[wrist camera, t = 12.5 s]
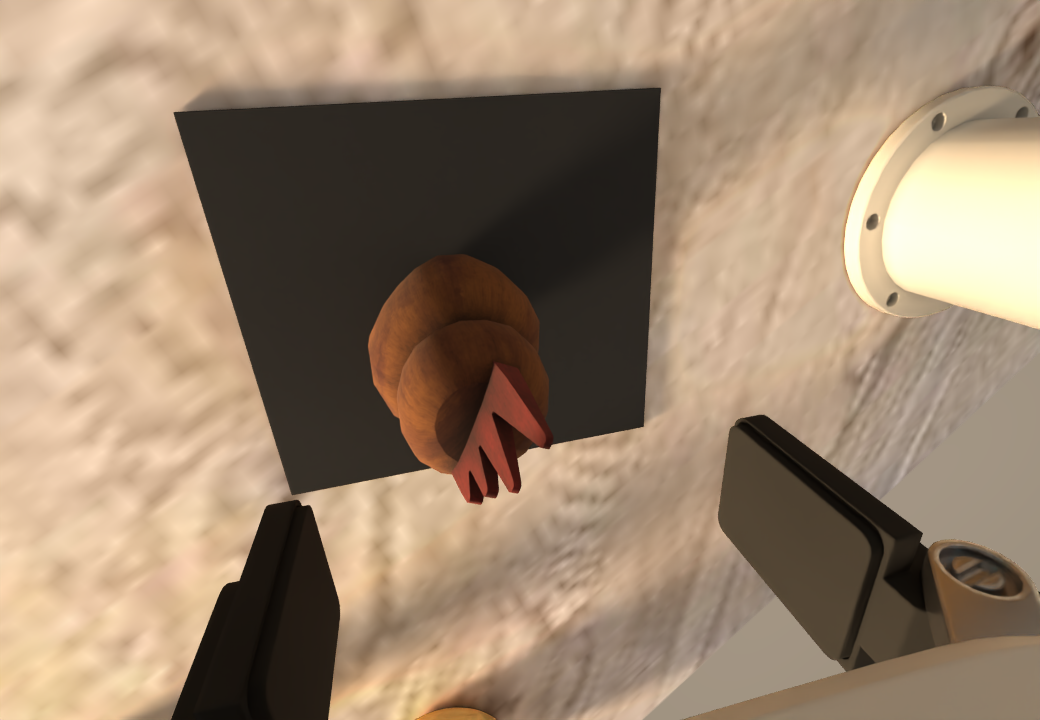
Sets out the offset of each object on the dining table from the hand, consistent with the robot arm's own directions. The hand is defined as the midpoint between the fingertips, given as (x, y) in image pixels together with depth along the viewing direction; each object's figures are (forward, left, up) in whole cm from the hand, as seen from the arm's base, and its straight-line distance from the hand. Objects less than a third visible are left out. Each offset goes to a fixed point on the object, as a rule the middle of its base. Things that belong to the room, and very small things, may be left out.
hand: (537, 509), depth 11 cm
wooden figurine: (+1, 0, -15) cm, 15 cm away
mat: (0, 0, -15) cm, 15 cm away
